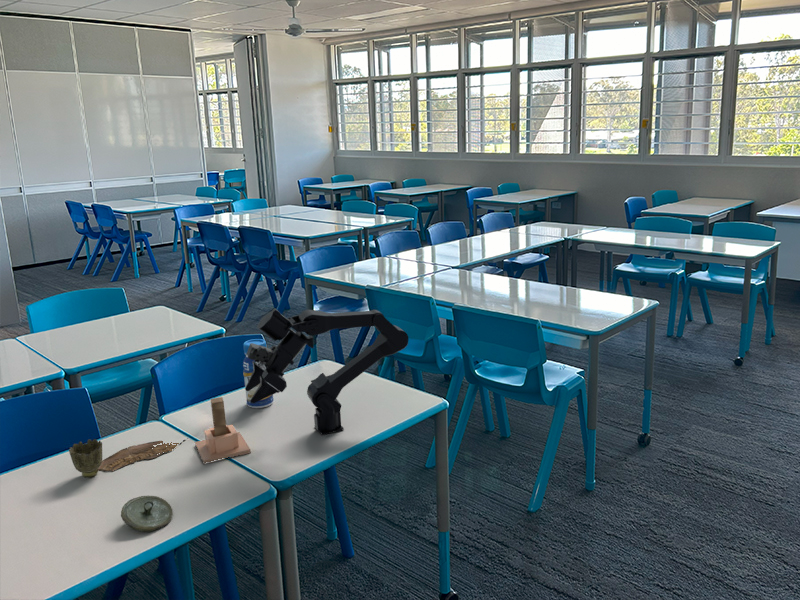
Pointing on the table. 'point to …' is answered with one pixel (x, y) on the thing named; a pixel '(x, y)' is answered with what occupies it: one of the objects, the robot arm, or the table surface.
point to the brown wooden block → (218, 416)
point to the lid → (146, 513)
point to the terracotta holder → (222, 445)
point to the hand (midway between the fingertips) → (248, 396)
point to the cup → (87, 457)
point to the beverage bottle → (248, 372)
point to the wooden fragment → (135, 455)
